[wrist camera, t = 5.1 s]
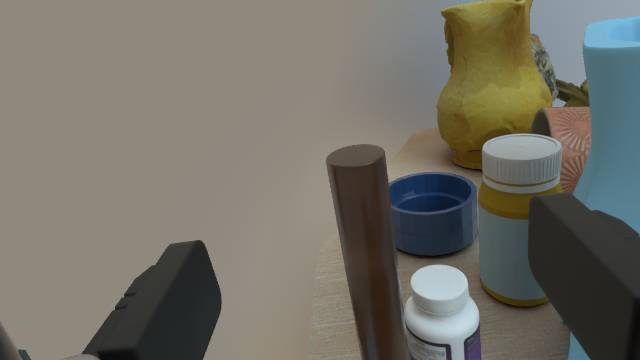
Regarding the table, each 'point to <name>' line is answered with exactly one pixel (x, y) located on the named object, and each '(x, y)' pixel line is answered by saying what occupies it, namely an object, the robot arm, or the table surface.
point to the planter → (567, 139)
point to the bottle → (513, 212)
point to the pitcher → (488, 77)
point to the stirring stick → (369, 249)
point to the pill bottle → (441, 316)
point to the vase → (612, 127)
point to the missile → (573, 94)
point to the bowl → (433, 212)
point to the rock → (544, 65)
